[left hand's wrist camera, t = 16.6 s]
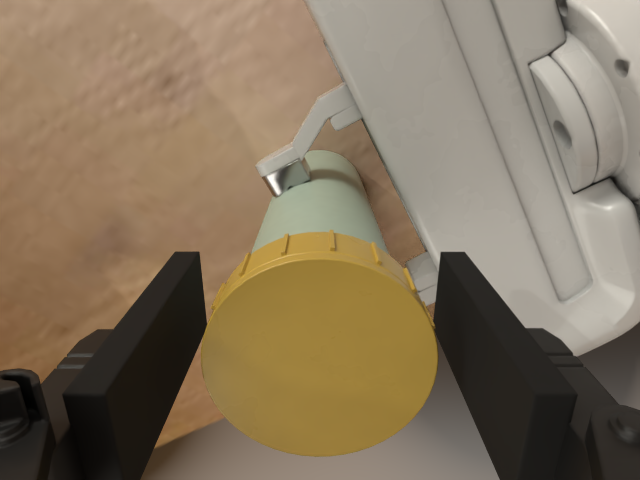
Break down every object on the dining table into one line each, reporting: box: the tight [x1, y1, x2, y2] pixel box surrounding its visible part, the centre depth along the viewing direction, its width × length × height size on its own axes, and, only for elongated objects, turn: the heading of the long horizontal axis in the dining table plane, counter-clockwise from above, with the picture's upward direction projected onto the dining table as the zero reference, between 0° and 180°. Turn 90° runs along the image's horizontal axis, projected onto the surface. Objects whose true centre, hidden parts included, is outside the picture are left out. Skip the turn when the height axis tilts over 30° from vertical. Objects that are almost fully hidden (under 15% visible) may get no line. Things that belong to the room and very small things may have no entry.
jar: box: [251, 150, 389, 254], centre depth 18 cm, size 5×5×16 cm
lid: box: [201, 230, 438, 457], centre depth 11 cm, size 6×6×2 cm
